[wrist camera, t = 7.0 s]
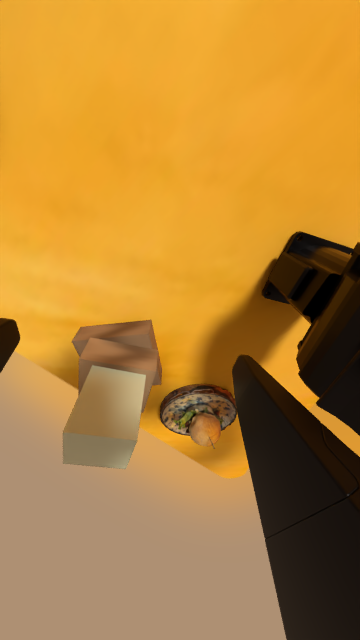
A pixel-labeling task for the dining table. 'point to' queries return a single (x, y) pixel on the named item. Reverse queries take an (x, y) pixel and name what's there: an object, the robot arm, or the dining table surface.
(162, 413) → the burger
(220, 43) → the dining table surface
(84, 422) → the sage block
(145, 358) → the walnut slab top
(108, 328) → the walnut slab low
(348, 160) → the dining table surface
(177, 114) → the dining table surface
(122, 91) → the dining table surface
